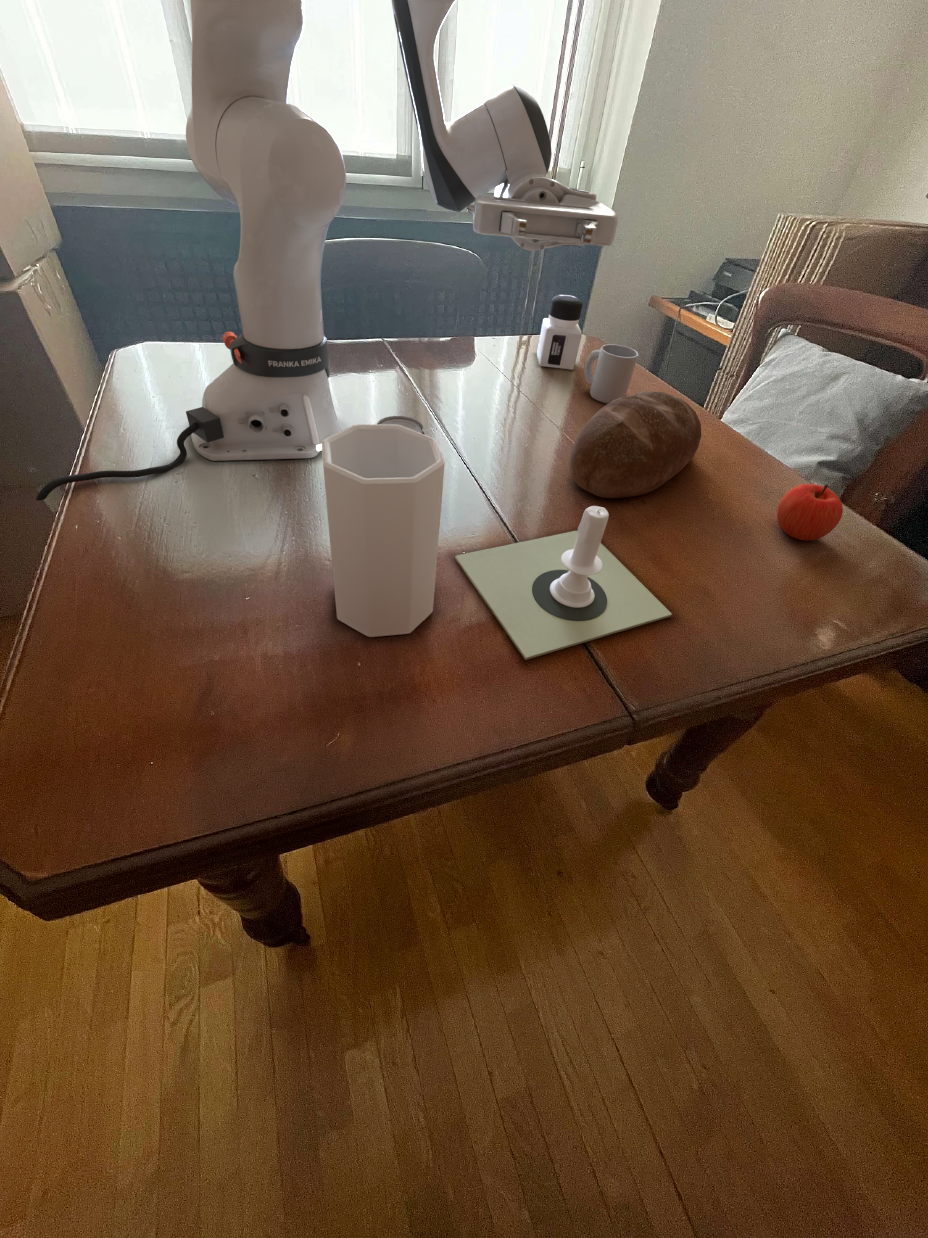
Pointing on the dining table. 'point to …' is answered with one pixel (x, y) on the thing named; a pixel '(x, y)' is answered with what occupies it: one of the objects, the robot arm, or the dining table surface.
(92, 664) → the dining table surface
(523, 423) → the dining table surface
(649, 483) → the bread
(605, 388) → the cup
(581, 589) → the candle
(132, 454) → the dining table surface
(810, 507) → the apple
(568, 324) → the container
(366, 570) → the cup
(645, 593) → the mat
